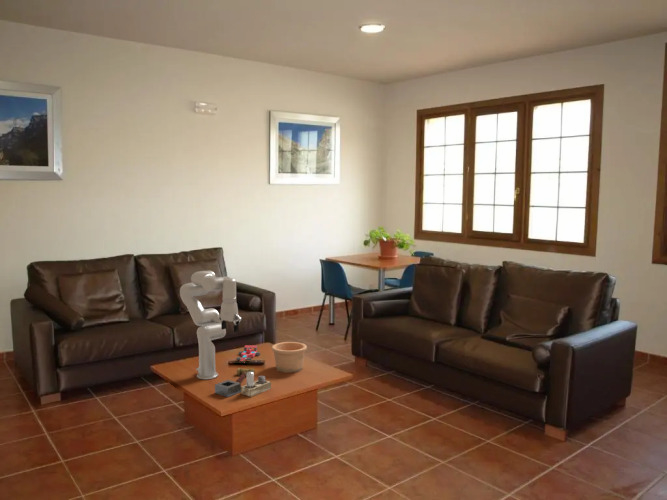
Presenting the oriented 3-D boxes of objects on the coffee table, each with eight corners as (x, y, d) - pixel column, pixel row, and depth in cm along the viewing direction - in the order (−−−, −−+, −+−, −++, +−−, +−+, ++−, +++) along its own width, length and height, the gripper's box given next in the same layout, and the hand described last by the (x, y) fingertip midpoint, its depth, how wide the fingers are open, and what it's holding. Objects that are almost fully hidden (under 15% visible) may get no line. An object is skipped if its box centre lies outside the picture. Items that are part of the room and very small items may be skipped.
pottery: (265, 368, 363) (264, 345, 361) (292, 361, 377) (292, 339, 376) (285, 376, 347) (285, 353, 345) (313, 369, 361) (313, 346, 360)
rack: (240, 393, 318) (240, 381, 317) (260, 385, 330) (260, 374, 330) (251, 396, 313) (251, 384, 312) (271, 388, 326) (271, 376, 325)
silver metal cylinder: (245, 393, 318) (244, 372, 316) (250, 391, 321) (250, 370, 320) (250, 395, 315) (250, 374, 314) (255, 393, 319) (255, 372, 317)
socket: (215, 393, 318) (214, 384, 318) (228, 388, 326) (228, 379, 326) (227, 397, 312) (227, 388, 312) (240, 392, 320) (240, 383, 320)
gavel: (245, 381, 330) (228, 380, 331) (245, 388, 330) (228, 387, 332) (254, 367, 350) (238, 366, 351) (254, 374, 351) (238, 373, 352)
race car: (229, 355, 370) (241, 344, 395) (229, 364, 371) (241, 353, 395) (251, 356, 368) (261, 345, 393) (251, 365, 369) (261, 354, 394)
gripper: (213, 299, 324) (214, 329, 326) (235, 303, 314) (236, 334, 316) (223, 297, 330) (224, 326, 332) (245, 301, 320) (245, 331, 322)
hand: (230, 330), depth 324 cm, fingers open, 9 cm apart
